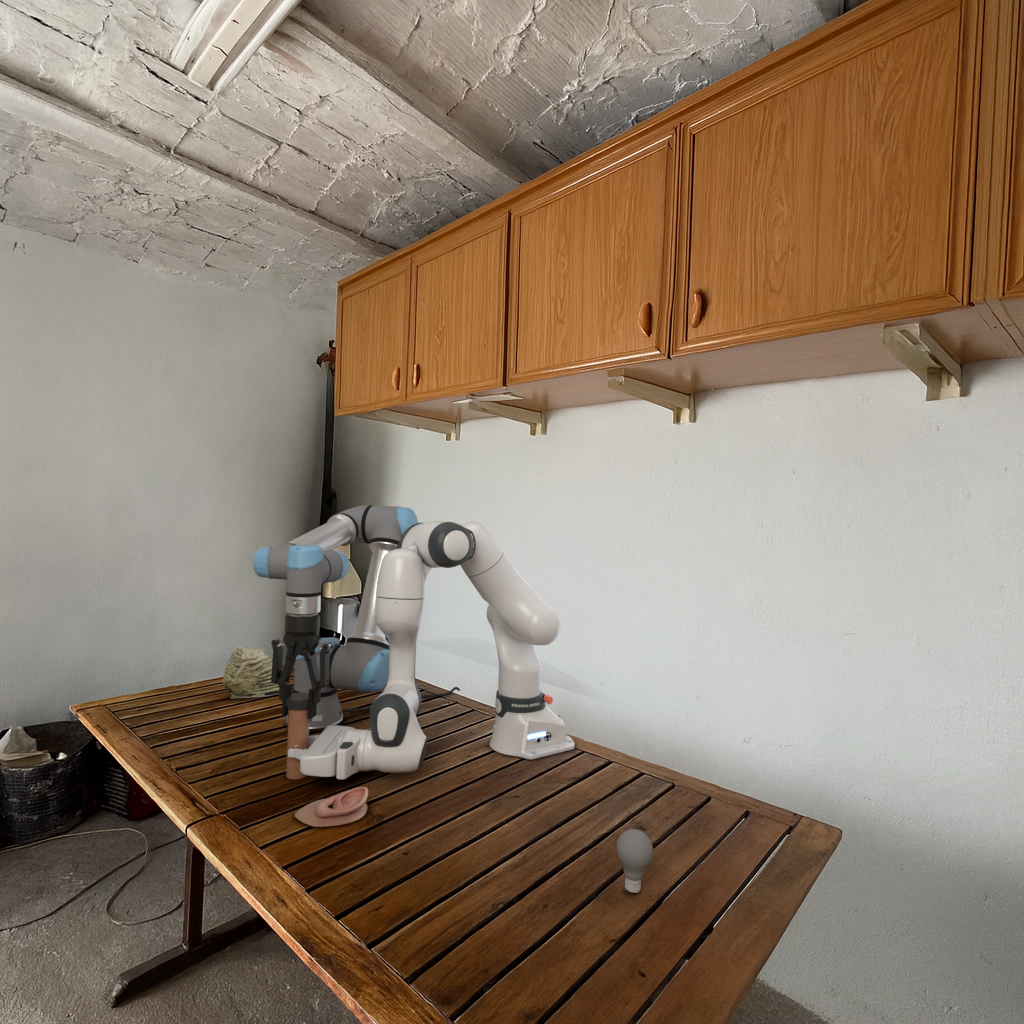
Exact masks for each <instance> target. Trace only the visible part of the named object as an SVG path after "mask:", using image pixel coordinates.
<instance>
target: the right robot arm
mask: <svg viewBox="0 0 1024 1024" xmlns="http://www.w3.org/2000/svg"><path fill="white" fill-rule="evenodd" d="M458 566H460V567H461V569H462V571H463V573H465V575H466V577H467V578H468V579H469V581H470V583H471V584H472V585H473V587H474V588H475V590H476V591H477V592H478V594H479V595H480V597H481V598H482V599H483V600H484V601H485V602H487V604H488V606H487V608H486V619H487V622H488V624H489V626H490V627H491V630H492V632H493V637H494V641H495V647H496V651H497V659H498V683H497V690H496V694H495V704H494V707H495V720H494V725H493V729H492V734H491V737H490V741H489V747H490V748H491V750H493V751H495V752H496V753H499V754H501V755H502V754H503V755H505V756H506V755H507V756H512V757H519V758H523V759H525V760H536V759H539V758H543V757H548V756H552V755H555V754H559V753H560V754H561V753H565V752H567V751H572V750H574V749H575V748H576V746H575V741H574V740H573V738H572V737H571V736H569V735H568V734H567V729H566V724H565V723H564V721H563V719H562V718H561V715H559V714H556V713H555V712H554V711H553V710H551V708H549V707H548V706H546V704H547V705H552V704H553V702H554V698H553V697H552V696H551V695H550V694H545V693H544V692H543V691H541V682H542V681H541V677H542V663H541V660H540V658H539V657H538V655H537V652H536V649H535V646H549V645H550V644H552V643H553V642H554V641H556V640H557V638H558V637H559V634H560V632H561V627H562V624H561V623H562V622H561V621H562V620H561V617H560V616H559V615H560V614H558V612H557V611H556V610H555V609H554V608H552V607H551V606H550V605H549V604H548V603H546V601H544V599H542V598H541V596H540V595H539V594H538V593H537V592H536V590H535V589H533V588H532V587H531V585H529V583H528V582H527V581H525V579H524V578H523V577H522V576H521V575H520V573H519V572H518V571H517V569H516V568H515V567H514V565H513V563H512V562H511V561H510V559H509V558H508V556H507V555H506V553H505V551H504V550H503V549H502V546H501V545H500V544H499V542H498V541H497V540H496V539H495V538H494V536H493V535H492V534H491V533H490V532H489V530H487V529H486V527H485V526H483V524H481V523H479V522H477V521H469V522H465V523H462V525H461V524H459V523H456V522H453V521H442V520H441V521H440V520H432V521H427V522H418V523H417V524H414V525H412V526H410V527H409V528H407V529H406V531H405V532H404V533H403V535H402V537H401V539H400V543H399V544H398V546H397V548H396V549H394V550H392V551H390V552H388V553H387V554H385V556H384V557H383V559H382V563H381V566H380V570H379V575H378V580H377V587H376V599H375V613H376V622H377V626H378V627H379V629H380V630H381V631H382V632H383V633H384V634H385V638H386V640H387V642H388V644H389V648H388V650H390V652H389V678H388V682H387V683H386V685H385V686H384V689H383V690H382V692H381V693H380V694H379V695H378V696H377V697H376V698H375V699H374V701H373V702H372V704H371V706H370V707H371V709H370V710H369V714H368V715H369V716H368V717H369V726H370V727H369V728H370V729H358V728H355V727H352V726H348V725H347V726H346V725H339V726H338V725H331V726H327V727H326V729H325V730H324V731H321V733H320V734H314V735H309V748H308V749H304V750H301V749H298V747H291V748H290V749H289V750H288V757H293V758H297V759H299V760H300V772H301V773H302V774H304V775H307V776H310V777H321V778H330V777H331V778H332V777H336V779H337V780H346V779H348V778H349V777H350V776H352V775H355V774H357V773H359V772H371V771H379V772H383V773H387V774H388V773H392V774H397V773H399V774H400V773H402V774H403V773H411V772H416V771H417V770H419V769H420V768H421V766H422V765H423V762H424V759H425V757H426V752H427V750H428V749H427V748H428V743H429V742H428V737H427V735H426V734H425V733H424V732H423V729H422V727H421V726H420V723H419V721H418V718H417V716H418V715H419V713H420V711H421V708H422V704H423V703H422V700H423V699H422V698H421V695H422V694H421V692H420V690H419V687H418V684H417V680H416V657H417V640H418V636H419V632H420V628H421V623H422V620H423V615H424V614H423V613H424V607H425V589H426V587H425V584H426V579H427V577H428V575H429V572H430V571H431V570H432V569H437V568H444V569H451V568H456V567H458ZM566 735H567V736H566Z"/></svg>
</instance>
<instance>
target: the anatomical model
mask: <svg viewBox="0 0 1024 1024" xmlns="http://www.w3.org/2000/svg"><path fill="white" fill-rule="evenodd" d="M368 797H369V789H368V787H366V786H360V787H355V788H352V789H348V790H346V791H341V792H340V793H337V794H334V795H332V796H330V797H327V798H322V799H318V800H315V801H312V802H309V803H308V804H306V805H304V806H302V807H301V808H299V809H298V810H297V811H296V812H295V813H294V818H295V819H297V820H298V821H300V822H301V823H303V824H305V825H308V826H310V827H314V828H315V827H316V828H323V827H334V826H341V825H346V824H351V823H353V822H356V821H358V820H361V819H362V818H363V817H364V816H365V815H366V814H367V811H368V804H367V800H368Z"/></svg>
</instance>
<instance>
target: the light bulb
mask: <svg viewBox="0 0 1024 1024" xmlns="http://www.w3.org/2000/svg"><path fill="white" fill-rule="evenodd" d="M615 849H616V854H617V857H618V859H619V861H620V863H621V865H622V867H623V873H624V874H623V875H624V876H625V878H624V888H625V890H627V891H628V892H630V893H634V894H635V893H639V892H640V891H641V889H642V887H641V886H642V879H643V877H644V875H645V871H646V868H647V867H648V866H649V864H650V863H651V861H652V859H653V855H654V847H653V843H652V841H651V838H649V836H648V835H647V834H646V833H645V832H643V831H642V830H641V829H636V828H629V829H627V830H625V831H623V832H622V833H621V834H620V835H619V837H618V839H617V841H616V847H615Z"/></svg>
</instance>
